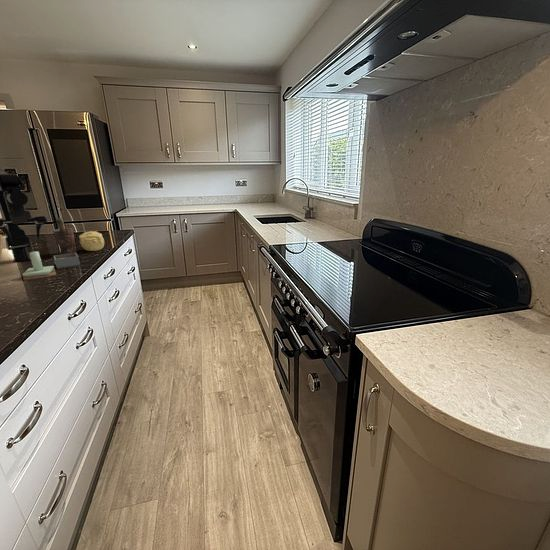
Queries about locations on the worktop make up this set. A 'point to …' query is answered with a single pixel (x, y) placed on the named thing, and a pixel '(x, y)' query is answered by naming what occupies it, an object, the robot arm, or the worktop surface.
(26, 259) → the robot arm
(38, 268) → the lid
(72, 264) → the storage box
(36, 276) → the walnut board
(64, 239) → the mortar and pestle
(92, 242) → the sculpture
